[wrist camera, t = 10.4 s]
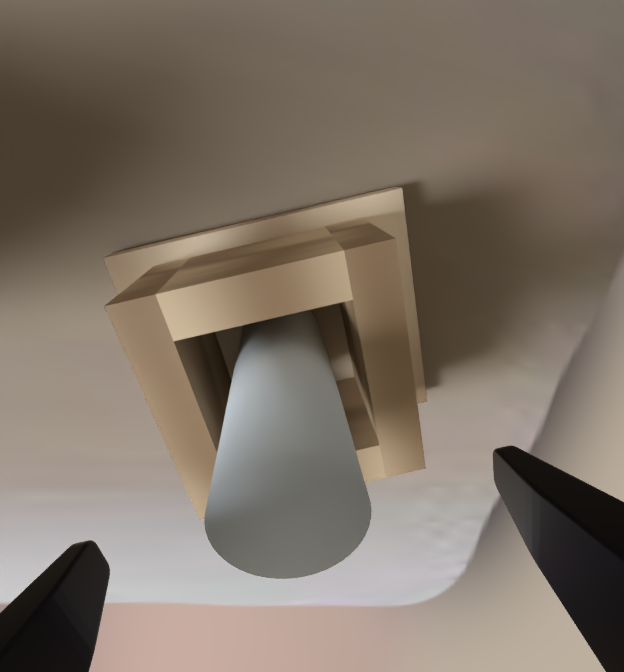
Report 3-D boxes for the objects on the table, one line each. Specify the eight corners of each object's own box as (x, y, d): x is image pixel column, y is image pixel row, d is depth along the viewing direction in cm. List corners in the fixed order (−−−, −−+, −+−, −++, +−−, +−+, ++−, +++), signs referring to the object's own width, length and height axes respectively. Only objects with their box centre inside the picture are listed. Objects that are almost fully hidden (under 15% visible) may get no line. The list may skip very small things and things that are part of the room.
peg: (253, 380, 18) (232, 592, 9) (231, 309, 17) (179, 476, 8) (328, 363, 18) (382, 558, 9) (312, 290, 17) (356, 435, 8)
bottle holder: (191, 443, 21) (160, 544, 15) (112, 253, 17) (31, 295, 11) (420, 390, 21) (473, 473, 15) (395, 186, 17) (454, 196, 11)
